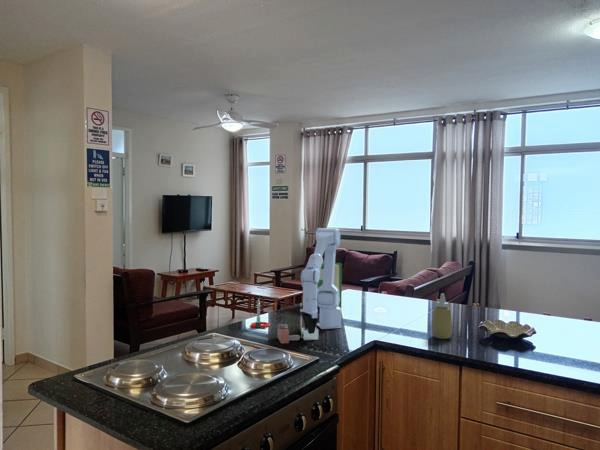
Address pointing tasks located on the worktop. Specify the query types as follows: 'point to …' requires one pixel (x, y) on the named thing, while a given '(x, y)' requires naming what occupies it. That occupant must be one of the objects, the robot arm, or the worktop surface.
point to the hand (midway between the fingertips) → (309, 331)
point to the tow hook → (258, 323)
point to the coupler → (285, 334)
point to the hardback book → (336, 279)
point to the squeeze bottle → (442, 319)
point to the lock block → (307, 336)
